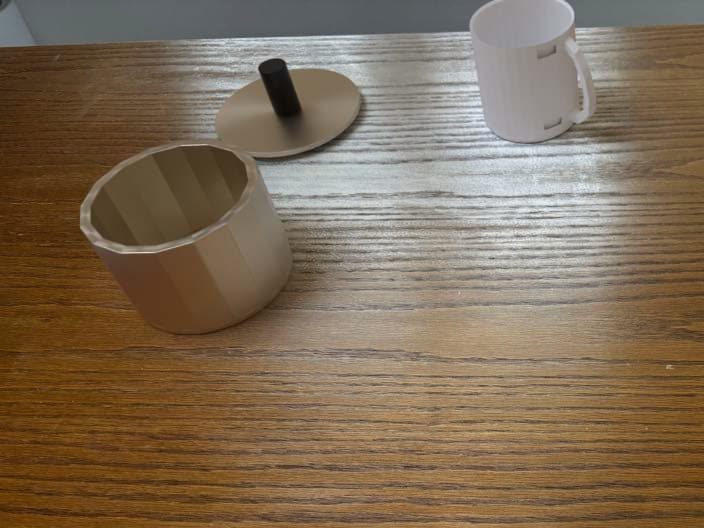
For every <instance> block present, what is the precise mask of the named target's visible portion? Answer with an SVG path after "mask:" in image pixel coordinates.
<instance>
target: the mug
mask: <svg viewBox="0 0 704 528" xmlns="http://www.w3.org/2000/svg"><path fill="white" fill-rule="evenodd" d="M468 28H469V34H470V39H471V46H472V52H473V59H474V65H475V71H476V77H477V84H478V90H479V95H480V96H479V97H480V102H481V109H482V116H483V120H484V123H485V125H486V127H487V128H488V129H489V131H491V132H492V133H493V134H494V135H496V136H497V137H499V138H501V139H503V140H506V141H509V142H515V143H523V144H524V143H525V144H527V143H528V144H530V143H538V142H543V141H548V140H551V139H554V138H556V137H558V136H560V135H562V134H563V133H565V132H567V131H568V130H569V129H570V128H571V127H572V126H573V125H574V124H576V125H580V124H581V123H583V122H585V121H586V120H588V119H589V118H590V117H591V116H592V115H594V113H595V112H597V90H596V88H595V87H596V86H595V83H594V79H593V76H592V71H591V69H590V66H589V63H588V61H587V59H586V57H585V55H584V52H583V51H582V48H581V47H580V46H579V44H578V43H577V40H576V39H577V37H576V36H577V35H576V19H575V11H574V9H573V7H572V6H571V5H570V4H569V2H567V1H566V0H491V1H489V2H487V3H485V4H483V5H482V6H481V7H479V8H478V9H477V10H476V11H475V12H474V13H473V15H472V16H471V18H470V20H469V27H468ZM579 80H580V84H581V89H582V95H583V103H582V110H580V93H579Z"/></svg>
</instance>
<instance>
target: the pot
mask: <svg viewBox="0 0 704 528" xmlns="http://www.w3.org/2000/svg"><path fill="white" fill-rule="evenodd" d="M79 228H80V230H81V232H82V233H83V235H84V236H85V238H86V239H87V241H88V242H89V243H90V245H91V247H92V248H93V250H94V251H95V253H96V254H97V256H98V257H99V259H100V260H101V261H102V263H103V265H104V266H105V268H106V270H107V271H108V272H109V274H110V275H111V277H112V279H114V281H115V283H116V284H117V286H118V287H119V288H120V290H121V291H122V293H123V294H124V296H125V297H126V299H127V301H128V302H129V303H130V305H131V306H132V307H133V309H134V310H135V311H136V312H137V313H138V315H139V317H140V318H141V319H142V320H143V321H144V322H145V323H146V324H148V325H150V326H151V327H153V328H155V329H157V330H159V331H162V332H166V333H169V334H175V335H186V336H187V335H201V334H208V333H213V332H218V331H222V330H224V329H226V328H230V327H233V326H235V325H237V324H240V323H242V322H244V321H246V320H248V319H249V318H251V317H253V316H255V315H256V314H258V313H259V312H262V310H264V309H265V308H266V307H267V306H268V305H270V304H271V303H272V302H273V300H276V298H277V297H278V296H279V294H280V293H281V292H282V291H283V289H284V288H285V286H286V285H287V283H288V282H289V278H290V277H291V274H292V271H293V267H294V254H293V250H292V247H291V245H290V240H289V236H288V233H287V232H286V230H285V227H284V225H283V223H282V220H281V218H280V215H279V213H278V211H277V209H276V206H275V204H274V201H273V199H272V196H271V194H270V192H269V190H268V187H267V184H266V183H265V180H264V178H263V175H262V173H261V170H260V169H259V165H258V164H257V161H256V159H254V157H252V156H250V155H249V154H248V153H246V152H245V151H244V150H243V149H242V148H241V147H239V146H238V145H235V144H231V143H227V142H223V141H221V140H220V139H215V138H204V139H203V138H199V139H179V140H176V141H173V142H169V143H164V144H161V145H157V146H153V147H150V148H147V149H145V150H143V151H141V152H139V153H136V154H134V155H133V156H131V157H129V158H127V159H124V160H123V161H121V162H119V163H117V164H116V165H115V166H114V167H112V168H111V169H110V170H109V171H108V172H107V173H105V174H104V175H103V176H102V177H101V178H99V179H98V180H97V181H96V182H94V184H93V185H92V187H91V189H90V190H89V192H88V193H87V195H86V197H85V198H84V199H83V202H82V203H81V204H80V208H79Z"/></svg>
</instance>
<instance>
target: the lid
mask: <svg viewBox="0 0 704 528" xmlns="http://www.w3.org/2000/svg"><path fill="white" fill-rule="evenodd" d="M257 71H258V73H259V75H260V78H258V79H256V80H253V81H251V82H250V83H248V84H246V85H243V87H241V88H240V89H237V90H236V91H235V92H234V93H233V94H232V95H230V96H229V97H228V98H227V99H226V100H225V101H224V102H223V104H222V105H221V106H220V108H219V109H218V111H217V114H216V116H215V120H214V129H215V132H216V136H218V140H219V141H223V142H227V143H231V144H235V145H238V146H239V147H241V148H242V149H243V150H244V151H245V152H246V153H248V154H249V155H250V156H251V157H252V158H281V157H287V156H293V155H298V154H301V153H304V152H308V151H310V150H314V149H315V148H318V147H320V146H323V145H324V144H327V143H328V142H330V141H331V140H333V139H335V138H337V137H338V136H339V135H340V134H343V132H344V131H345V130H347V129H348V128H349V127H350V126H351V124H353V122H354V121H355V120H356V118H357V116H358V115H359V112H360V109H361V105H362V98H361V94H360V90H359V88H358V86H357V85H356V84H355V82H353V80H351V78H349V77H347V75H344V74H343V73H339V72H337V71H334V70H330V69H324V68H316V67H315V68H314V67H313V68H311V67H310V68H309V67H307V68H306V67H305V68H304V67H303V68H293V69H289V68H288V65H287V62H286V61H285V59H283V58H279V57H273V58H269V59H266V60H264V61H262V62H261V63H259V65H258V67H257Z"/></svg>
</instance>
